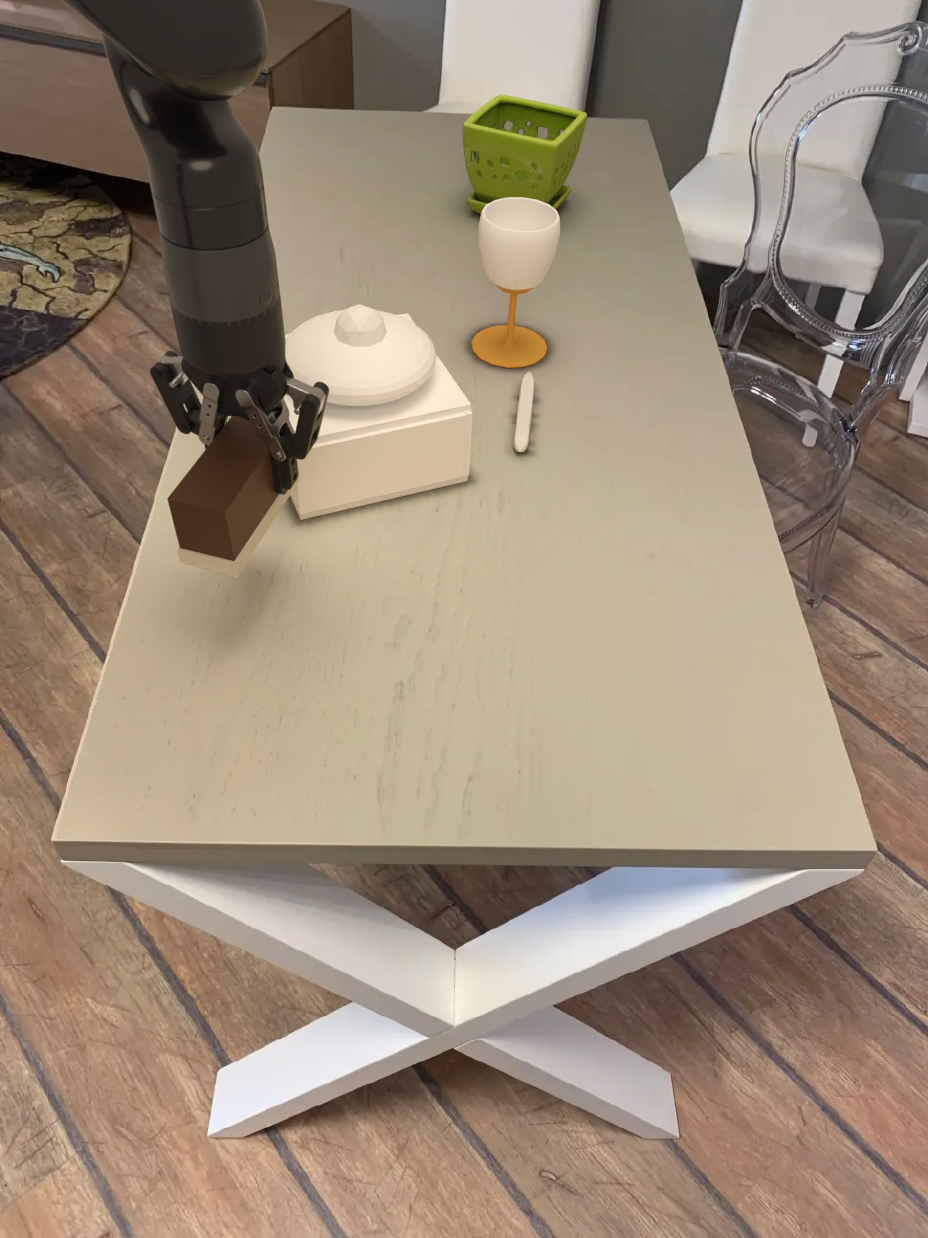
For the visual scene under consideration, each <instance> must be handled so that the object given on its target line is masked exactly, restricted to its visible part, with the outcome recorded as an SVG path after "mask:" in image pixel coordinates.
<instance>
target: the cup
mask: <svg viewBox="0 0 928 1238" xmlns="http://www.w3.org/2000/svg"><path fill="white" fill-rule="evenodd" d="M560 217H561V216H560V214H559V212H558V210H557V209H556V210H555V209H554V208H553V207H551V206H550V205H549V204H547V203H544V202H541V201H539V200H535V199H529V198H524V197H508V198H503V199H498V200H494V201H493V202H491V203H489V204H487V205H485V207H484V209H483V210H482V212H481V214H480V218H479V222H478V223H479V224H478V227H477V228H478V229H477V230H478V231H477V234H478V248H479V252H480V253H479V254H480V258H481V262H482V266H483V269H484V272H485V274H486V276H487V278H488V280H489V281H490V282H491V283H493V284H494V285H495V286H496V287H497V288H498V289H499V290H500V291H501V292H503V293H506V294H509V301H508V302H509V304H508V313H507V314H508V315H507V324H506V325H505V324H504V325H503V324H499V325H494V326H490V327H485V328H484V329H482V330H481V331H479V332H477V333H475V335H474V336H473V338H472V340H471V344H470V345H471V349H472V352H473V353H474V354H475V355H476V356H477V357H478V358H479V359H480V360H481V361H483V362H486V363H488V364H489V365H492V366H496V367H500V368H501V367H502V368H506V369H513V368H515V369H516V368H525V367H529V366H532V365H536V363H538V362H540V361H541V360H542V359H544V358H545V356H546V354H547V351H548V346H547V344H546V340H545V339H544V338H543V337H541V336H540V335H539V334H538V333H537V332H535V331H534V330H531V329H529V328H527V327H524V326H519V325H516V313H517V304H518V303H517V302H518V295H522V294H523V295H524V294H526V293H528V292H530V291H531V290H533V289H535V288H536V287H537V286H539V285H540V284H542V282H543V281H544V279H545V278H546V276H547V274H548V273H549V271H550V269H551V267H552V264H553V262H554V259H555V258H556V255H557V252H558V248H559V242H560V237H561V218H560Z"/></svg>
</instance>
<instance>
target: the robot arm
mask: <svg viewBox="0 0 928 1238" xmlns="http://www.w3.org/2000/svg"><path fill="white" fill-rule="evenodd" d="M59 1H60V2H61V3H63V4H64V5H66V6H68V7H69V8H70V9H71V10H73V11H74V12H75V13H77V14H78V15H79V16H81V17H82V18H83V19H84V20H85V21H87V22H88V23H89V24H91V25H92V26H93V27H94V28H95V29H97V30H98V31H99V33H100V36H101V41H102V45H103V48H104V51H105V55H106V58H107V61H108V65H109V67H110V70H111V72H112V75H113V78H114V82H115V83H116V86H117V89H118V92H119V95H120V97H121V100H122V102H123V105H124V108H125V110H126V111H125V112H126V113H127V116H128V119H129V122H130V124H131V126H132V129H133V131H134V133H135V135H136V138H137V140H138V142H139V145H140V147H141V150H142V153H143V156H144V159H145V164H146V169H147V175H148V181H149V187H150V192H151V197H152V201H153V207H154V212H155V216H156V221H157V227H158V232H159V237H160V239H159V240H160V256H161V262H162V263H161V264H162V269H163V270H162V271H163V274H164V280H165V284H166V289H167V293H168V299H169V303H170V309H171V315H172V318H173V323H174V328H175V333H176V338H177V342H178V347H179V351H180V353H181V355H180V356H179V355H178V353H176V352H175V351H173V350H167V351H166V352H165V353H164V354H163V355H162V356H161V357H160V358H158V359H157V361H155V363H154V365H152V367H151V368H150V370H149V374H150V376H151V379H152V380H153V382H154V384H155V387H156V388H157V390H158V392H159V394H160V396H161V398H162V400H163V402H164V405H165V407H166V409H167V410H168V413H169V415H170V416H171V418H172V420H173V422H174V424H175V426H176V429H177V430H178V431H179V432H180V433H181V434H183V435H189V434H191V433H192V434H194V435H196V436H197V437H198V439H199V441H200V442H201V443H202V444H203V445H204V451H205V450H206V448H207V447H208V446H209V445H210V443H211V442H212V441H213V439H214V438H215V437H216V436H217V434H218V433H219V432H220V431H221V429H222V428H223V427H224V425H225V424H226V423H227V422H228V420H229V419H228V418H229V417H231V416H239V417H241V418H243V419H246V420H248V421H250V422H251V424H252V426H253V428H254V430H255V432H256V434H257V436H258V437H259V438H263V439H264V441H265V443H266V445H267V447H268V449H269V451H270V453H271V456H272V459H271V464H272V472H273V479H274V486H275V492H276V493H278V494H282V495H285V494H286V492H287V491H288V490H290V489H291V488H292V486H293V485H294V483H295V482H296V480H297V478H298V476H299V473H298V466H297V465H298V464H297V459H300V460H303V459H305V457H306V456H307V454H308V453H309V451H310V450H311V448H312V447H313V445H314V444H315V442H316V441H317V439H318V436H319V432H320V427H321V423H322V419H323V415H324V411H325V407H326V402H327V398H328V394H329V388H328V386H327V385H326V384H325V383H323V382H316V383H315V384H314V386H313V387H312V386H310V385H308V384H305V383H303V382H301V381H299V380H297V379H294V375H293V372H292V370H291V369H290V367H289V366H288V364H287V361H286V358H285V349H286V341H285V335H286V333H285V323H284V315H283V314H284V313H283V306H282V298H281V289H280V288H281V287H280V280H279V271H278V270H279V269H278V262H277V255H276V250H275V247H274V246H275V245H274V242H273V239H272V235H271V230H270V225H269V224H270V223H269V216H268V209H267V208H268V207H267V200H266V192H265V191H266V190H265V184H264V183H265V182H264V174H263V168H262V162H261V158H260V153H259V150H258V147H257V144H256V142H255V139H253V137H252V135H251V134H250V133H249V131H248V130H247V129H246V128H245V127H244V125H243V124H242V123H241V122H240V120H239V119H238V117H236V114H235V113H234V112H233V109H232V107H231V105H230V101H229V100H231V99H234V98H236V97H238V96H240V95H242V94H244V93H245V92H246V91H247V90H248V89H250V88H251V87H252V86H253V84H254V83H255V82H256V80H257V79H258V77H259V76H260V74H261V72H262V71H263V68H264V65H265V62H266V58H267V54H268V44H269V34H268V32H269V31H268V25H267V20H266V16H265V13H264V9H263V7H262V4H261V1H260V0H59ZM195 389H197V390H198V392H199V393H200V394H201V395H202V402H201V400H200V399H199V396H198V394H197V392H196V390H195ZM286 394H287V395H289V396H290V397H291V398H292V400H293V406H294V408H295V410H294V413H295V414H297V415H299V417H298V422H297V427H296V431H294V429H293V427H292V425H291V423H290V420H289V415H290V413H289V409H288V407H287V404H286V402H285V400H284V398H283V397H284V396H285V395H286Z"/></svg>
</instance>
